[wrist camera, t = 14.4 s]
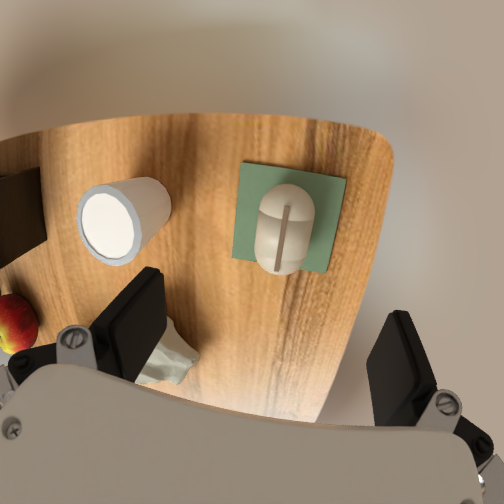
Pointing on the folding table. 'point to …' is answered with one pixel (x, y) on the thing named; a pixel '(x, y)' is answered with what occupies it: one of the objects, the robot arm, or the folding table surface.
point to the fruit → (17, 324)
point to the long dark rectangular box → (20, 214)
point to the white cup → (122, 218)
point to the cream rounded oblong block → (284, 229)
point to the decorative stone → (169, 359)
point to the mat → (316, 185)
